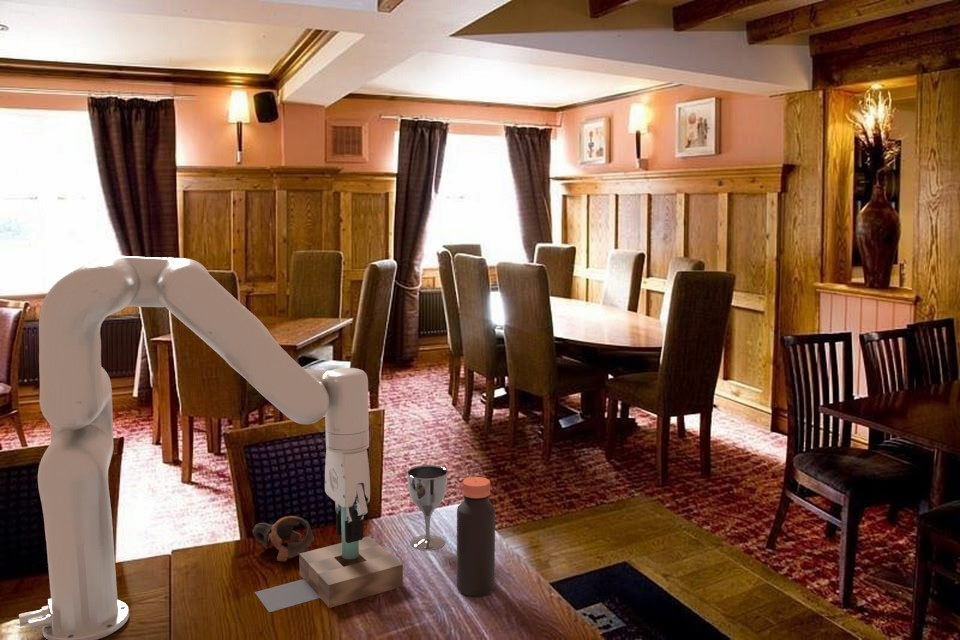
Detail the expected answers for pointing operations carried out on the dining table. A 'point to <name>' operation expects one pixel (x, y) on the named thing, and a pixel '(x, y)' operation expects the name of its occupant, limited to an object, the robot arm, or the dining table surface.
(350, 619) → the dining table surface
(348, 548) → the peg
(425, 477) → the wine glass
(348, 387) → the robot arm
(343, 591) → the hole block
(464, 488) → the bottle
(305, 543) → the brown hollow rounded piece
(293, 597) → the mat
